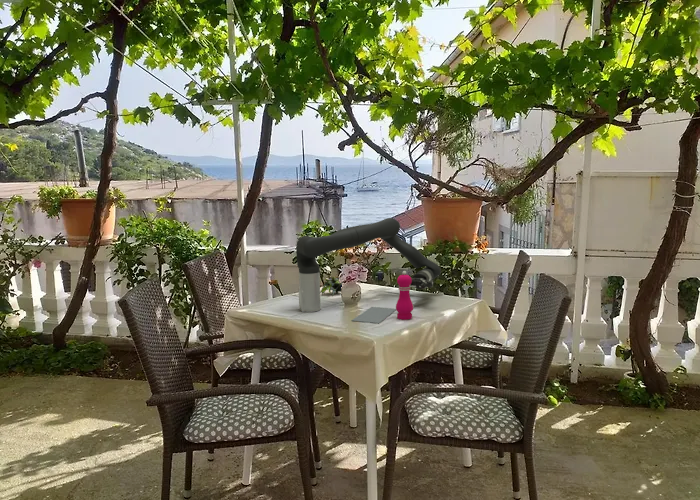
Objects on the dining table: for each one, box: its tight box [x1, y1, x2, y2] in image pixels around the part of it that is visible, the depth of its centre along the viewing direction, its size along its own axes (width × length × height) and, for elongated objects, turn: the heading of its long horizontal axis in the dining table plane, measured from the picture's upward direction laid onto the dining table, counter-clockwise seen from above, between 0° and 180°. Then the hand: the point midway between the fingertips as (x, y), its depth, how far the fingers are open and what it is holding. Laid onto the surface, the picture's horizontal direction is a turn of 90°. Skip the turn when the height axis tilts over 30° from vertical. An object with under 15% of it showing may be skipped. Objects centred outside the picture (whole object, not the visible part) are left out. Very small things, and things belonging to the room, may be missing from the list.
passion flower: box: [320, 275, 343, 297], centre depth 261 cm, size 11×11×12 cm
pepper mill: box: [395, 270, 414, 321], centre depth 213 cm, size 7×7×20 cm
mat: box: [351, 306, 397, 325], centre depth 220 cm, size 24×12×1 cm, turn 157°
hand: (412, 286), depth 224 cm, fingers open, 8 cm apart
